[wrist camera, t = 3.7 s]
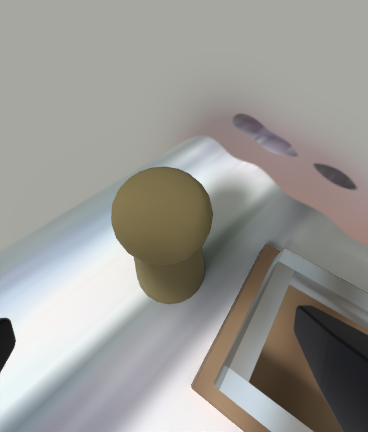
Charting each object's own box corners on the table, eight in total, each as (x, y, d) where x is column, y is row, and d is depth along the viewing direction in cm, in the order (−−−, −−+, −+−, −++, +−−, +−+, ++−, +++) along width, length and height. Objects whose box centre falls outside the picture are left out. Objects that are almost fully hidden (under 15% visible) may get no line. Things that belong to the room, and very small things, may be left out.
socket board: (404, 331, 17) (460, 327, 14) (375, 536, 12) (452, 613, 9) (261, 250, 20) (276, 231, 17) (191, 384, 15) (193, 396, 12)
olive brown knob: (191, 315, 18) (202, 281, 8) (124, 288, 19) (64, 229, 9) (213, 249, 21) (239, 166, 11) (153, 228, 22) (131, 137, 12)
